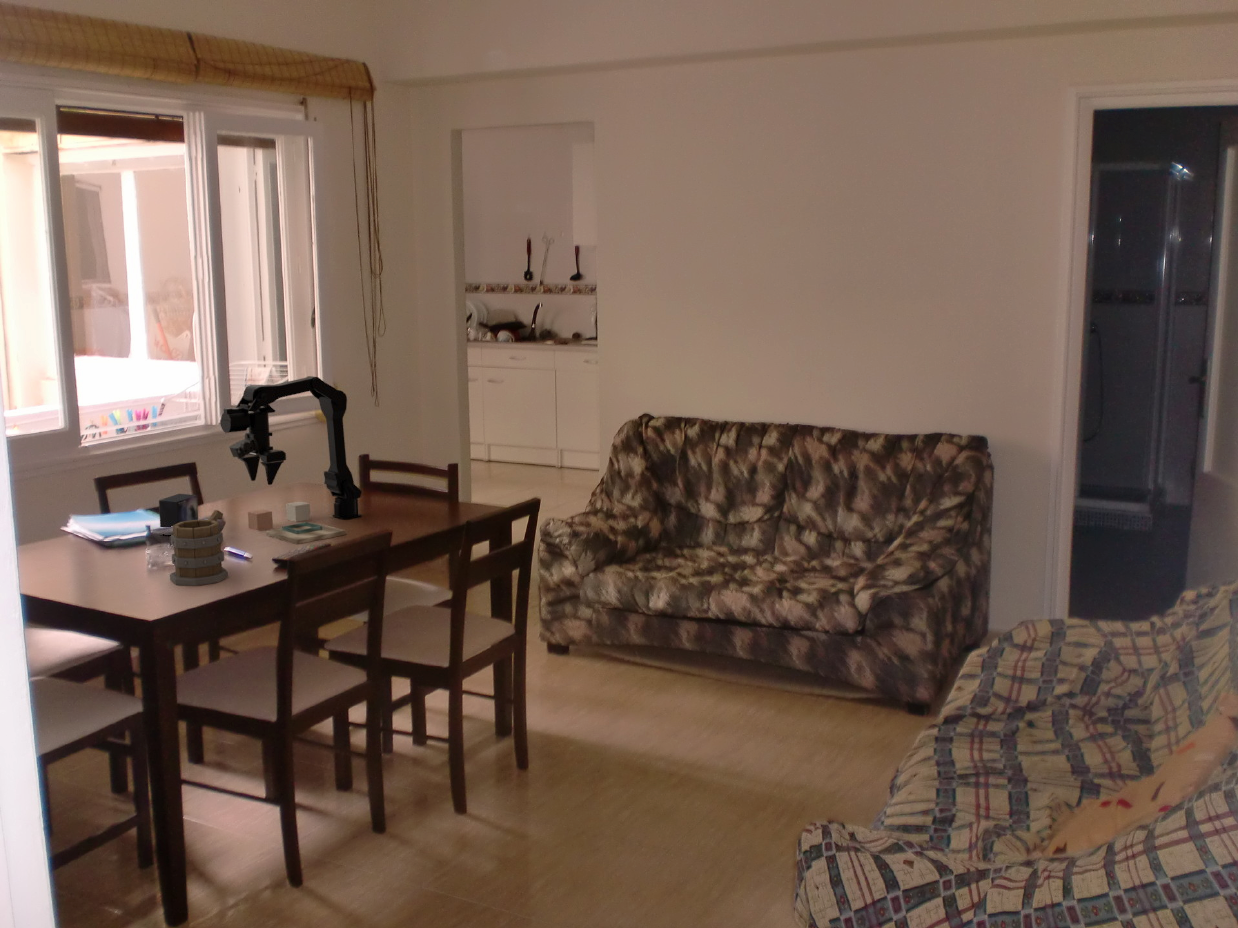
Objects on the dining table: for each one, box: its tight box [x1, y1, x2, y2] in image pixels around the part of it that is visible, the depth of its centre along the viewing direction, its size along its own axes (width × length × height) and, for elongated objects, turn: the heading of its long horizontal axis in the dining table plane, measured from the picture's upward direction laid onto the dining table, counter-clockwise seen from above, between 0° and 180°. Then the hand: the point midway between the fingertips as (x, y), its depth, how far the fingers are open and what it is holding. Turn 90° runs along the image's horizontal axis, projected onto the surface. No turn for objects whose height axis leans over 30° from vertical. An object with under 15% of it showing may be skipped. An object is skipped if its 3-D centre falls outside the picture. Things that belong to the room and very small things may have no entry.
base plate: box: [265, 521, 347, 545], centre depth 332 cm, size 16×16×2 cm
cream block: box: [285, 501, 311, 523], centre depth 353 cm, size 5×5×5 cm
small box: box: [158, 493, 199, 528], centre depth 335 cm, size 11×6×10 cm, turn 168°
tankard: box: [169, 509, 229, 587], centre depth 288 cm, size 20×13×15 cm, turn 171°
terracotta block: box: [247, 508, 274, 532], centre depth 341 cm, size 5×5×5 cm
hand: (261, 482), depth 333 cm, fingers open, 9 cm apart
